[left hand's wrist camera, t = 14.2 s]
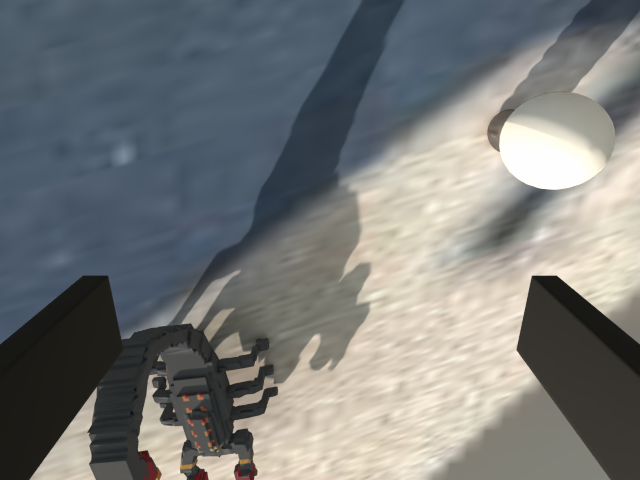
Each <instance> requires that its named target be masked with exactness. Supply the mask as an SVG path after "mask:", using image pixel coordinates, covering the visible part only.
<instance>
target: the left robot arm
mask: <svg viewBox="0 0 640 480" xmlns="http://www.w3.org/2000/svg"><path fill="white" fill-rule="evenodd" d="M122 351H123V345H122V340H121V336H120V331H119V326H118V321H117V317H116V312H115V307H114V302H113V297H112V293H111V288H110V283H109V278H108V276H82V277H81V278H80V279H79V280H77V281H76V282H75V283H74V284H73V285H71V286H70V287H69V288H68V289H67V290H65V291H64V292H63V293H62V294H61V295H59V296H58V297H57V298H56V299H55V300H53V301H52V302H51V303H50V304H49V305H47V306H46V307H45V308H44V309H43V310H41V311H40V312H39V313H38V314H36V315H35V316H34V317H33V318H32V319H30V320H29V321H28V322H27V323H26V324H24V325H23V326H22V327H21V328H20V329H18V330H17V331H16V332H15V333H14V334H12V335H11V336H10V337H9V338H8V339H6V340H5V341H4V342H3V343H1V344H0V480H29V479H30V478H31V477H32V475H33V474H34V473H35V471H36V470H37V468H38V467H39V466H40V464H41V463H42V462H43V460H44V459H45V457H46V456H47V455H48V453H49V452H50V450H51V449H52V448H53V446H54V445H55V444H56V442H57V441H58V439H59V438H60V437H61V435H62V434H63V433H64V431H65V430H66V428H67V427H68V426H69V424H70V423H71V422H72V420H73V419H74V417H75V416H76V415H77V413H78V412H79V411H80V409H81V408H82V406H83V405H84V404H85V402H86V401H87V400H88V398H89V397H90V395H91V394H92V393H93V391H94V390H95V389H96V387H97V386H98V384H99V383H100V382H101V380H102V379H103V378H104V376H105V375H106V373H107V372H108V371H109V369H110V368H111V367H112V365H113V364H114V362H115V361H116V360H117V358H118V357H119V356H120V354H121V353H122ZM517 351H518V353H519V354H520V356H521V357H522V358H523V360H524V361H525V362H526V364H527V365H528V367H529V368H530V369H531V371H532V372H533V373H534V375H535V376H536V378H537V379H538V380H539V382H540V383H541V384H542V386H543V387H544V389H545V390H546V391H547V393H548V394H549V395H550V397H551V398H552V400H553V401H554V402H555V404H556V405H557V406H558V408H559V409H560V411H561V412H562V413H563V415H564V416H565V417H566V419H567V420H568V422H569V423H570V424H571V426H572V427H573V428H574V430H575V431H576V433H577V434H578V435H579V437H580V438H581V439H582V441H583V442H584V444H585V445H586V446H587V448H588V449H589V450H590V452H591V453H592V455H593V456H594V457H595V459H596V460H597V461H598V463H599V464H600V466H601V467H602V468H603V470H604V471H605V472H606V474H607V475H608V477H609V478H610V479H611V480H640V344H638V343H637V342H636V341H635V340H634V339H632V338H631V337H630V336H629V335H628V334H626V333H625V332H624V331H623V330H622V329H620V328H619V327H618V326H617V325H616V324H614V323H613V322H612V321H611V320H610V319H608V318H607V317H606V316H605V315H604V314H602V313H601V312H600V311H599V310H597V309H596V308H595V307H594V306H593V305H591V304H590V303H589V302H588V301H587V300H585V299H584V298H583V297H582V296H581V295H579V294H578V293H577V292H576V291H575V290H573V289H572V288H571V287H570V286H569V285H567V284H566V283H565V282H564V281H562V280H561V279H560V278H559V277H558V276H532V278H531V283H530V288H529V293H528V297H527V302H526V307H525V312H524V317H523V321H522V326H521V331H520V336H519V340H518V345H517Z"/></svg>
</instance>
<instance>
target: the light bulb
mask: <svg viewBox="0 0 640 480" xmlns="http://www.w3.org/2000/svg"><path fill="white" fill-rule="evenodd" d="M488 140H489V142H490V144H491V145H492V146H493V148H494V149H496V150H497V151H499V152H500V154H501V157H502V160H503V162H504V164H505V165H506V167H507V168H508V170H509V171H510V172H511V173H512V174H513V175H514V176H515V177H516V178H518V179H519V180H521V181H523V182H524V183H526V184H529V185H532V186H535V187H538V188H543V189H565V188H568V187H572V186H575V185H579V184H581V183H583V182H585V181H587V180H589V179H590V178H592V177H593V176H594V175H596V174H597V173H598V172H599V171H600V170H601V169H602V168H603V167H604V166H605V164H606V163H607V162H608V160H609V158H610V157H611V154H612V152H613V149H614V143H615V130H614V126H613V122H612V120H611V119H610V117H609V115H608V114H607V112H606V111H605V110H604V109H603V108H602V107H601V106H600V105H599V104H598V103H596V102H595V101H593V100H591V99H590V98H588V97H586V96H583V95H580V94H576V93H570V92H554V93H546V94H542V95H539V96H536V97H534V98H532V99H530V100H528V101H526V102H524V103H523V104H521V105H520V106H519V107H517V108H516V109H515V110H505V111H503V112H500V113H499V114H497V115H496V116H495V117H494V118H493V119H492V121H491V122H490V124H489V127H488Z"/></svg>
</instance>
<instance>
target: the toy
mask: <svg viewBox="0 0 640 480" xmlns="http://www.w3.org/2000/svg"><path fill="white" fill-rule="evenodd" d="M122 345H123V351H122V353H121V354H120V356H119V357H118V358H117V360H116V361H115V362H114V364H113V365H112V367H111V368H110V369H109V371H108V372H107V373H106V375H105V376H104V378H103V379H102V380H101V382H100V383H99V384H98V386H97V398H96V402H95V406H94V413H93V419H92V425H91V427H90V429H89V431H88V432H87V433H90V434H89V437H90V439H91V441H92V442H91V444H90V450H91V454H92V460H91V462H90V463H89V465H90V467H91V470H92V472H93V474H94V476H95V478H96V480H160V477H161V475H162V474H161V472H160V470H159V469H158V467H156V465H155V463H154V461H153V460H152V458H151V457H150V456H149V453H148V450H147V451H140V452H138V442H139V441H138V438H137V437H138V436H139V433H140V425H141V422H142V418H143V416H142V411H143V407H144V402H145V398H146V392H147V384H148V382H147V381H148V377H149V375H153V374H158V376H161V375H167V379H168V383H169V388H170V390H165V389H166V387H167V385H166V379H165V377H156V378H153V380H152V383H153V386H154V388H158V389H157V390H156V392H155V393H154V394H153V395H152V396H153V398H154V401H155V402H156V403H160V407H161V408H165V409H164V411H163V413H162V415H161V417H160V421H161V423H162V424H163V425H168V426H183V429H184V432H185V435H186V438H187V440H186V442H184V445H183V449H182V451H183V452H182V457H181V464H180V473H184V474H185V475H186V476H187V480H208V474H207V472H205V470H204V469H200V468H199V467H198V466H196V463H197V461H198V460H197V457H198V456H200V455H202V456H219V457H220V456H221V455H226V454H232V453H236V454H238V455H239V463H238V464H237V465H236V466H235V470H234V475H235V478H236V480H254V476H256V475H257V469H256V468H255V464H254V463H253V460H252V459H253V455H254V453H253V448H252V445H253V436H252V433H251V432H249V431H248V429H241V430H237V431H236V432H235V433H233V428H234V426H233V422H234V420H239V419H244V418H249V417H254V416H258V415H261V414H264V413H265V410H266V407H267V404H268V400H269V397H273V396H276V395H278V388H277V387H272V388H267V389H265V390H264V392H263V396H262V399H261V400H260V401H259V402H258V403H252V404H247V405H241V406H237V407H235V406H233V403H234V400H233V398H240V397H242V396H244V395H246V394H254V393H256V392H258V391H260V390H262V389H263V384H264V379H265V376H267V375H270V374H273V372H274V368H273V366H264V367H260V369H259V373H258V378H255V379H254V381H246V382H241V383H235V384H232V385H229V381H228V378H227V374H226V371H228V370H235V369H241V368H247V367H252V366H254V363H255V361H256V359H257V355H258V353H259V352H260V351H264V350H267V349H268V348H269V344H268V339H261V340H257V345H255V346H253V348H252V351H251V354H247V355H241V356H238V357H233V358H224V359H220V360H219V358H218V356H217V355H216V353H215V352H214V350H213V349H212V347H211V346H210V344H209V342H208V340H207V338H206V336H205V334H204V332H203V331H198V330H196V329H194V328H193V326H192V324H182V325H172V326H162V327H157V328H150V329H146V330H142V331H138V332H134V334H133V335H132V336H131V338H130V339H122ZM159 355H161V358H162V360H163V361H164V362H162V361H159V362H157V360H158V358H159ZM173 408H174V410H175V412H173Z"/></svg>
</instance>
